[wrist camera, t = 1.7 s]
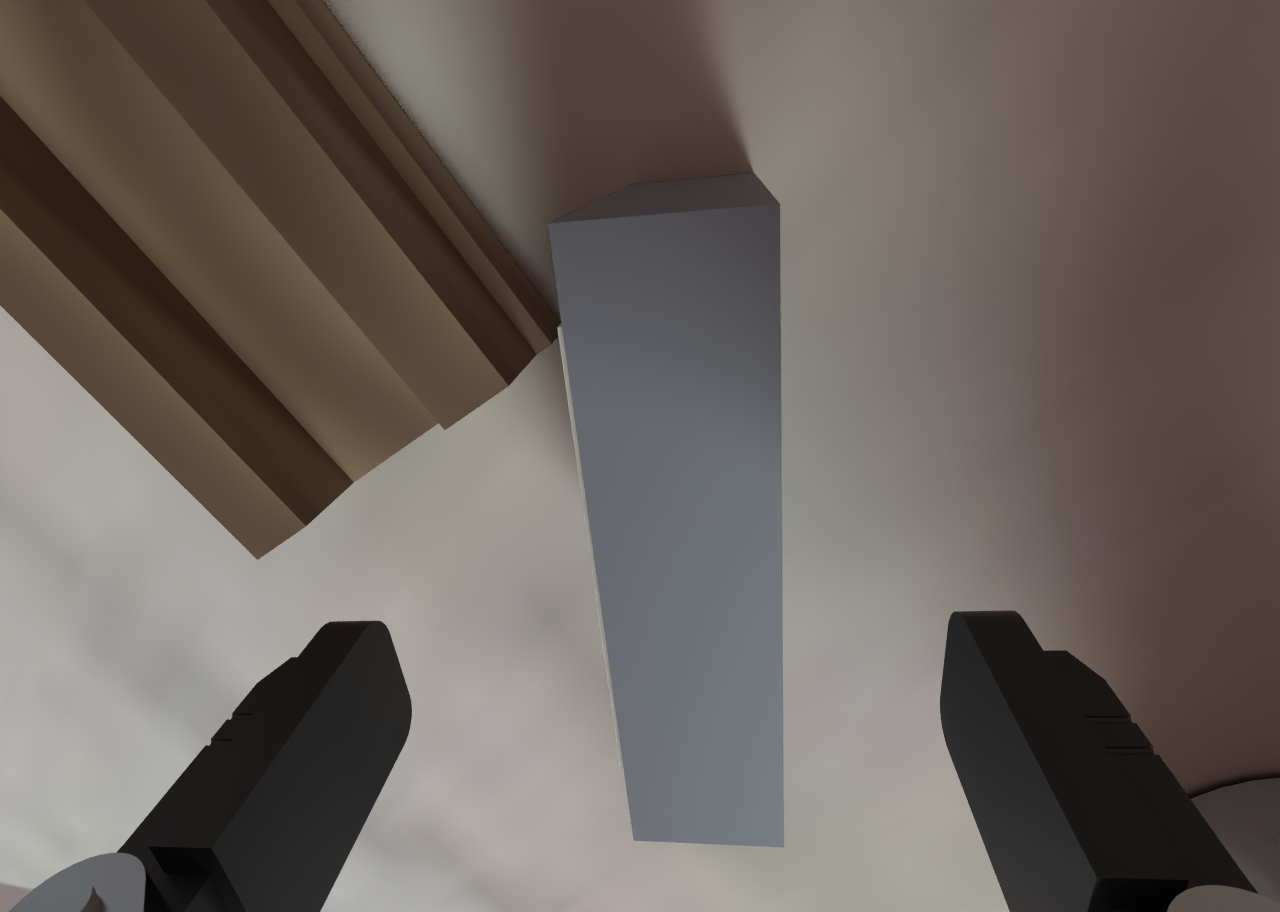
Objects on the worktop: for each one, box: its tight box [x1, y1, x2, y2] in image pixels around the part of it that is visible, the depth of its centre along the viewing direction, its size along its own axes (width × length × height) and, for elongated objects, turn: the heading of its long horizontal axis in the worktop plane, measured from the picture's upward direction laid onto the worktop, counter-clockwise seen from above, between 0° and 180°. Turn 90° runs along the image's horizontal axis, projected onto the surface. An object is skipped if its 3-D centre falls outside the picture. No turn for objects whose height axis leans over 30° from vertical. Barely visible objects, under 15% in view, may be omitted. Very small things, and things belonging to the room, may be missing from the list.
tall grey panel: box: [548, 173, 784, 847], centre depth 15 cm, size 3×12×9 cm, turn 5°
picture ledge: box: [0, 0, 560, 560], centre depth 16 cm, size 10×16×4 cm, turn 35°
